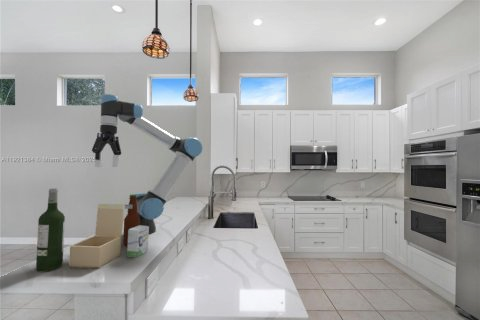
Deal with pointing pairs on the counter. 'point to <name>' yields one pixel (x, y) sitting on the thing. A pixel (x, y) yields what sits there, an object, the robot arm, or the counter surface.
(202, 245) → the counter surface
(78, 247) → the carton
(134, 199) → the bottle
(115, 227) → the flap
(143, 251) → the ink box
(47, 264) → the wine bottle
